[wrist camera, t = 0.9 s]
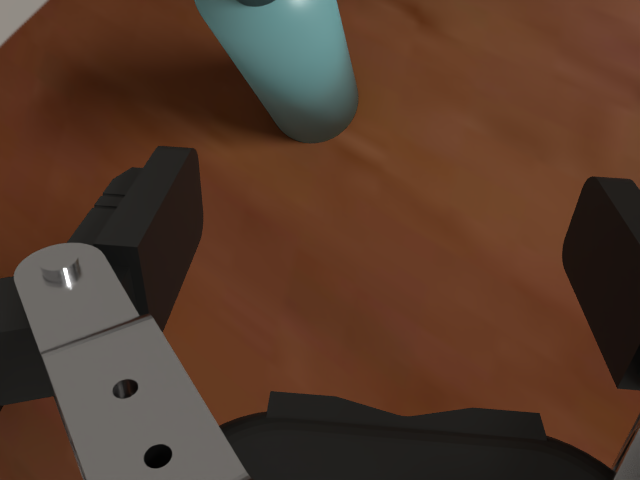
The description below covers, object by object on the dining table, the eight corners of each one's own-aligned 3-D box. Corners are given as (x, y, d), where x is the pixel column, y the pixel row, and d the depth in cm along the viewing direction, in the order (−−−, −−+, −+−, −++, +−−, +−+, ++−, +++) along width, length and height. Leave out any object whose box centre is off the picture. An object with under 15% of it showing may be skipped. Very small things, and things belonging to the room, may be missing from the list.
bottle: (334, 42, 33) (279, -157, 19) (373, 117, 32) (344, -36, 18) (256, 83, 33) (147, -83, 20) (292, 158, 32) (204, 38, 19)
